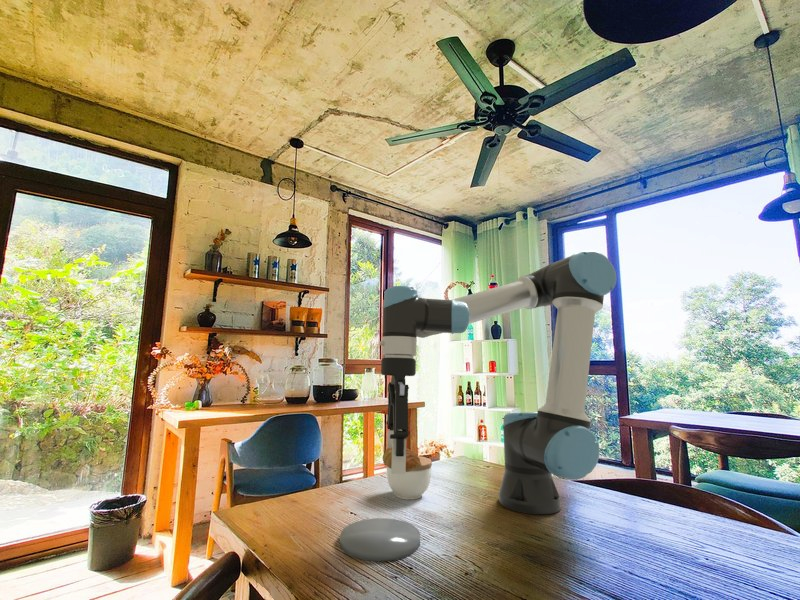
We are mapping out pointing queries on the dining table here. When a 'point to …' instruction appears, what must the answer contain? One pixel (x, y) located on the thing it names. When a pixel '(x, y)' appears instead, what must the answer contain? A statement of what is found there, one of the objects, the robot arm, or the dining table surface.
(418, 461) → the pastry
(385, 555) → the grey rounded puck
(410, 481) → the lidded bowl
